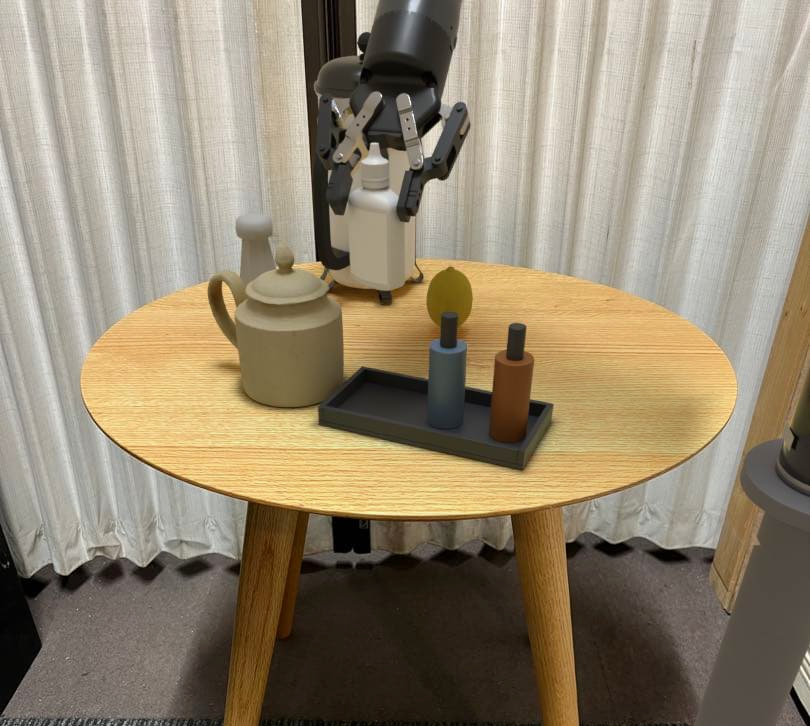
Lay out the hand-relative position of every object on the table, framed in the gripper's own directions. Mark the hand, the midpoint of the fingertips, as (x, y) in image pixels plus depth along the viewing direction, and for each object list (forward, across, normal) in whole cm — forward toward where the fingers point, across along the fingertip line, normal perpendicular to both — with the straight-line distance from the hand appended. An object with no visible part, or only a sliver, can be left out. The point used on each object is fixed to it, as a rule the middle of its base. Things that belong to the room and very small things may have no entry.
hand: (369, 213), depth 72 cm
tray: (+14, +6, +15) cm, 21 cm away
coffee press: (-9, -13, +38) cm, 41 cm away
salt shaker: (+1, -21, +27) cm, 34 cm away
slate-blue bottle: (+13, +7, +14) cm, 21 cm away
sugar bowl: (+12, -12, +16) cm, 24 cm away
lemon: (-2, +1, +31) cm, 31 cm away
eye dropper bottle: (+4, 0, +6) cm, 7 cm away
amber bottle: (+14, +14, +14) cm, 24 cm away
